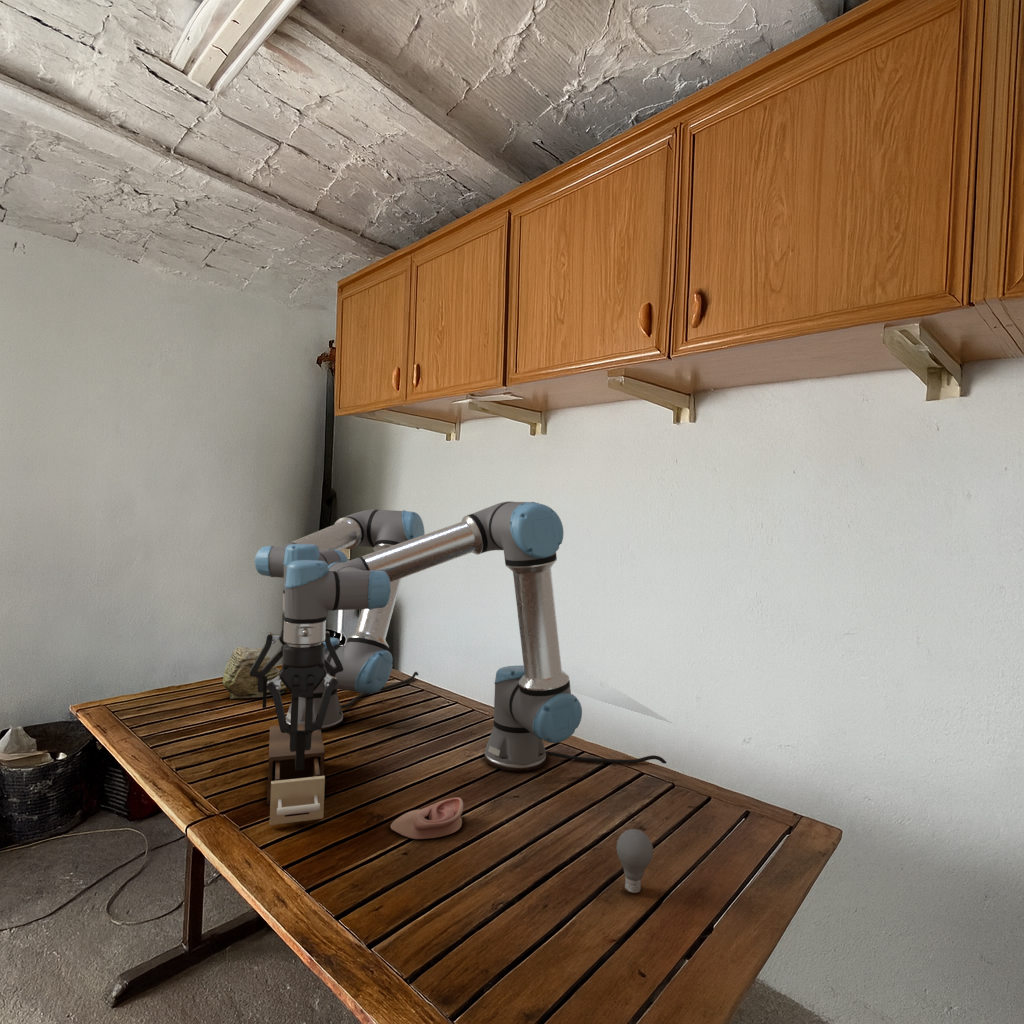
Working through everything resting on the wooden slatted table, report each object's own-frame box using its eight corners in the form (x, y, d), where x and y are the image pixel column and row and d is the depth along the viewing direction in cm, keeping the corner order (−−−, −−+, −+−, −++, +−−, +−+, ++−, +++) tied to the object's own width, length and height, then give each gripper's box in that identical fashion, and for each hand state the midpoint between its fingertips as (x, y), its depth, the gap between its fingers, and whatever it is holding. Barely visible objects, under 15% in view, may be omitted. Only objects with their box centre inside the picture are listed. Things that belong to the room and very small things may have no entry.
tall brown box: (322, 798, 133) (324, 752, 133) (267, 804, 129) (268, 757, 129) (318, 763, 150) (319, 722, 150) (268, 768, 146) (270, 726, 146)
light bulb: (610, 879, 108) (613, 822, 108) (644, 879, 109) (647, 822, 109) (619, 902, 102) (622, 840, 102) (655, 901, 103) (658, 840, 103)
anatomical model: (384, 813, 120) (406, 787, 131) (383, 834, 120) (405, 806, 131) (452, 824, 117) (468, 796, 128) (451, 845, 117) (467, 815, 128)
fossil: (218, 695, 195) (220, 647, 195) (278, 685, 208) (279, 640, 207) (228, 703, 189) (230, 653, 188) (289, 692, 201) (290, 645, 201)
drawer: (325, 832, 118) (326, 790, 118) (269, 839, 115) (270, 796, 115) (318, 781, 139) (319, 745, 139) (270, 786, 136) (272, 749, 135)
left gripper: (239, 616, 137) (235, 713, 137) (357, 613, 146) (353, 705, 146) (241, 609, 144) (238, 702, 144) (353, 608, 153) (350, 695, 153)
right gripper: (266, 648, 113) (262, 779, 114) (341, 646, 118) (336, 771, 118) (267, 639, 120) (263, 762, 121) (338, 637, 125) (333, 755, 125)
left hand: (296, 704), depth 145 cm, fingers open, 13 cm apart
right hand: (299, 767), depth 119 cm, fingers closed
